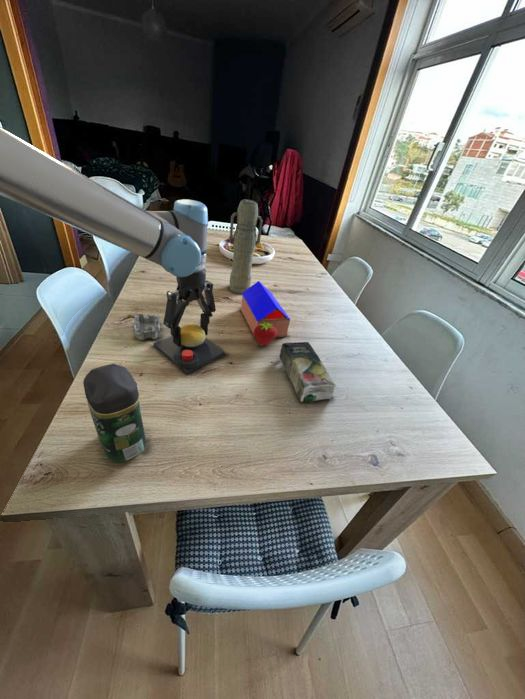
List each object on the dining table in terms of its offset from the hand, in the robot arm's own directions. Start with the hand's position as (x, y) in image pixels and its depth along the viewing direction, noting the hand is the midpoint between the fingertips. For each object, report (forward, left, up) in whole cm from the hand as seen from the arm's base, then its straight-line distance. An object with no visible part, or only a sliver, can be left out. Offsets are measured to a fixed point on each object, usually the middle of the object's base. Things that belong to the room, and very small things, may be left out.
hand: (190, 338), depth 88 cm
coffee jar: (+19, -32, -3) cm, 37 cm away
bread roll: (0, 0, 0) cm, 0 cm away
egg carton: (-14, -6, -3) cm, 15 cm away
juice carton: (+32, +16, -3) cm, 36 cm away
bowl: (-48, +74, -3) cm, 88 cm away
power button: (+7, -7, 0) cm, 10 cm away
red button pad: (+2, -2, -3) cm, 4 cm away
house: (+4, +29, -3) cm, 29 cm away
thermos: (-20, +41, -3) cm, 46 cm away
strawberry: (+14, +18, -3) cm, 23 cm away
